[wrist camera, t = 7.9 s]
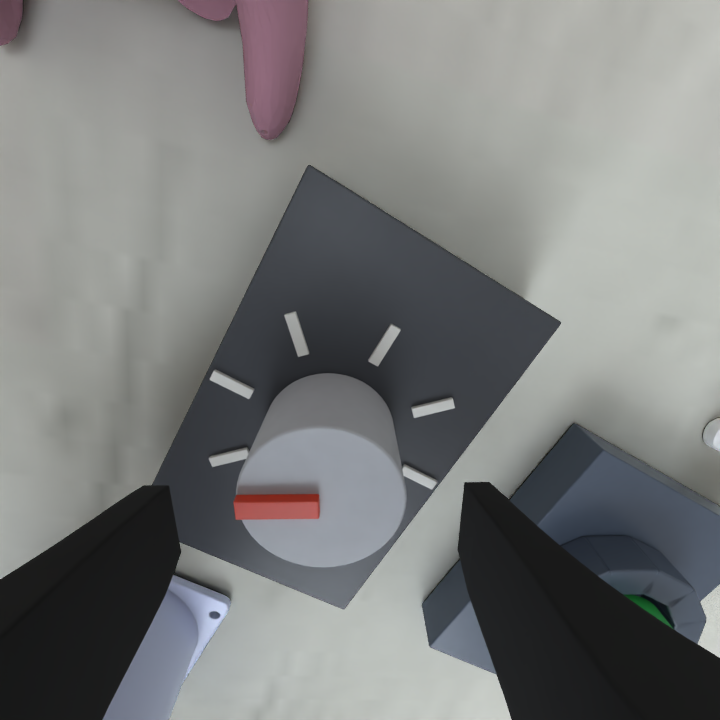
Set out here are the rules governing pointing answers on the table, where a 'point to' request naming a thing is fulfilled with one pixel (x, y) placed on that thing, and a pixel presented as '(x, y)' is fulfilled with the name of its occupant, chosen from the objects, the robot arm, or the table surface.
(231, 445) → the panel
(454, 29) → the table surface
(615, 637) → the robot arm
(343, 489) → the program dial
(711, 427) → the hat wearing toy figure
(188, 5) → the pink curved piece
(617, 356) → the table surface
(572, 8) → the table surface
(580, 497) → the block
